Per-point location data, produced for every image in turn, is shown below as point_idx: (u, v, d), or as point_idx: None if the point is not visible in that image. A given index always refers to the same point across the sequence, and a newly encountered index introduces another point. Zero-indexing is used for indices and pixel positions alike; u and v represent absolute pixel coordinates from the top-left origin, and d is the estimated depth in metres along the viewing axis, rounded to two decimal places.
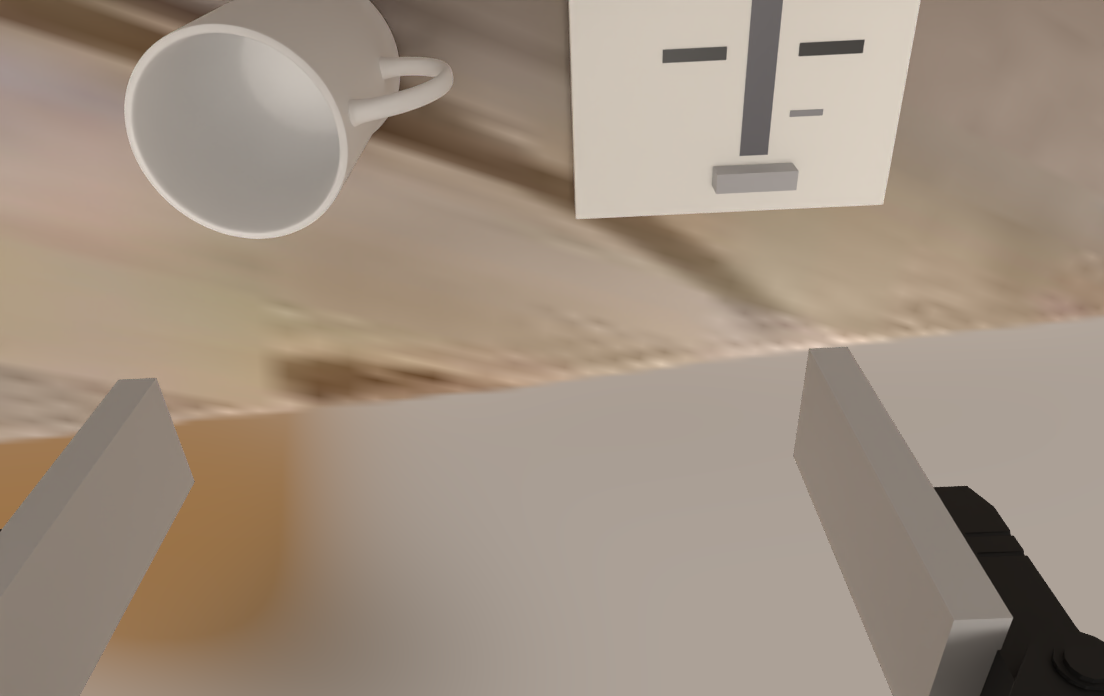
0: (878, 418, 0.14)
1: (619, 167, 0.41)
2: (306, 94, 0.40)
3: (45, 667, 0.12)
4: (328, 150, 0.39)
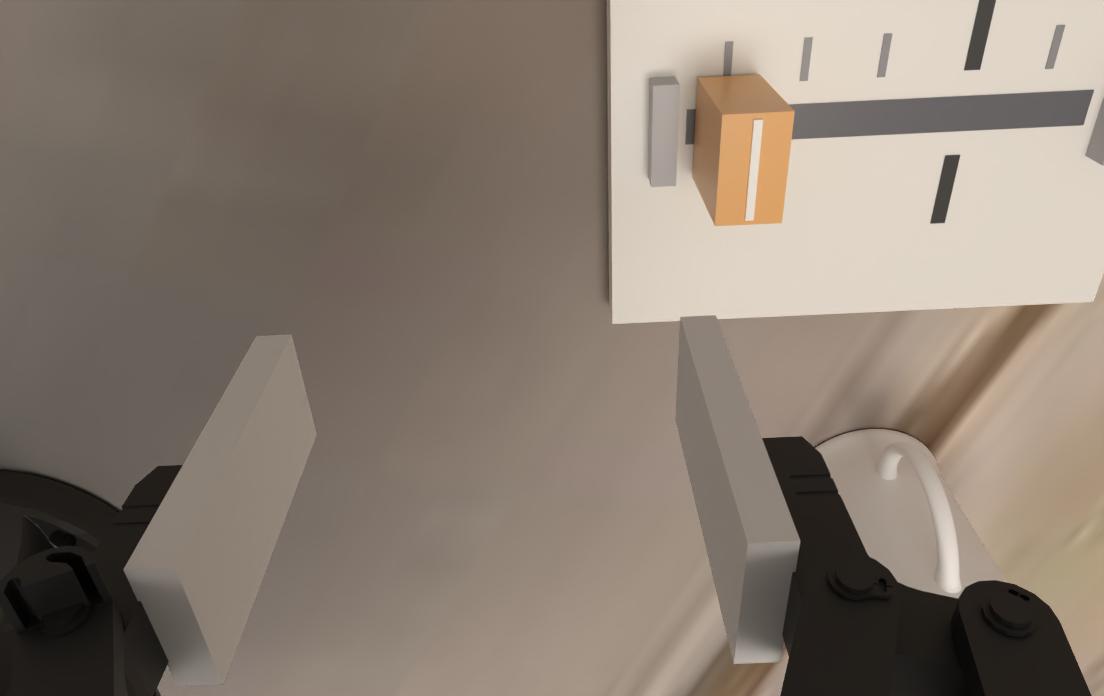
0: (727, 376, 0.15)
1: (1048, 259, 0.36)
2: None
3: (228, 585, 0.13)
4: None
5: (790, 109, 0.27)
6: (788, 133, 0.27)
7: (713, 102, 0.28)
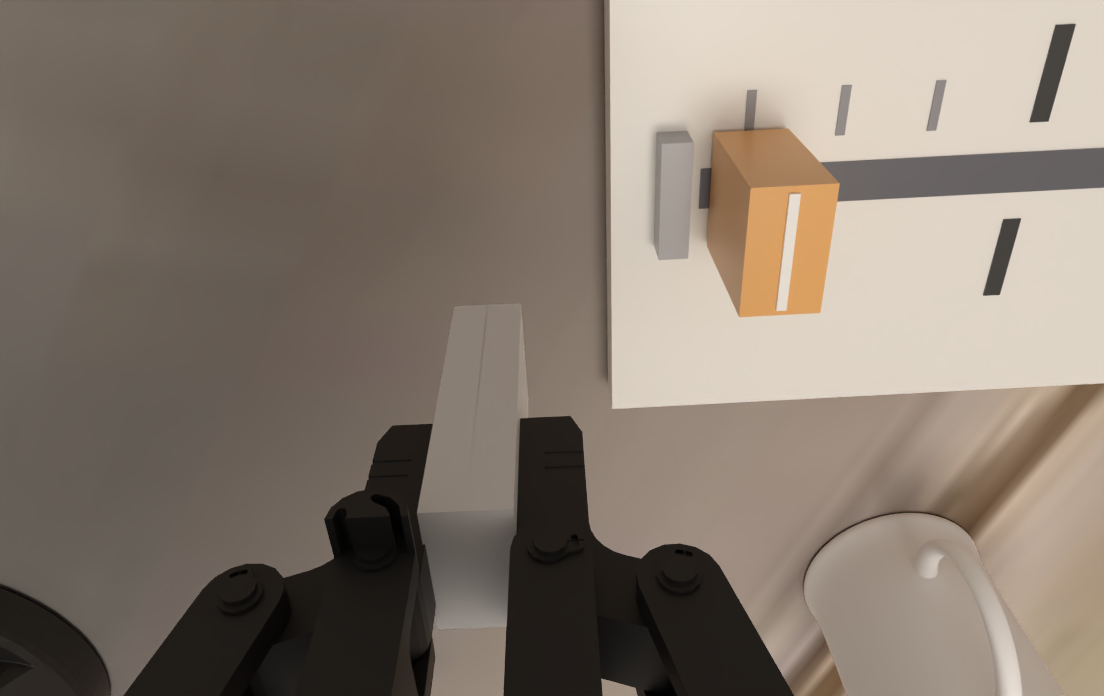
0: (507, 359, 0.16)
1: None
2: None
3: None
4: None
5: (833, 180, 0.22)
6: (831, 209, 0.22)
7: (737, 169, 0.23)
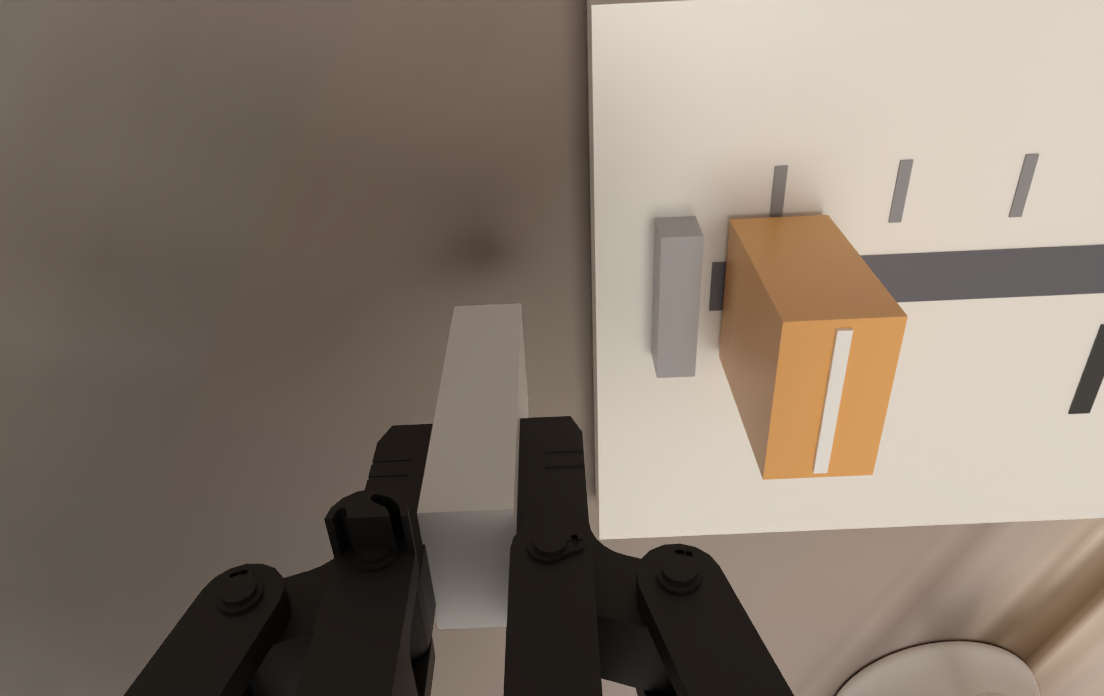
0: (507, 359, 0.16)
1: None
2: None
3: None
4: None
5: (898, 310, 0.16)
6: (893, 349, 0.16)
7: (762, 284, 0.17)
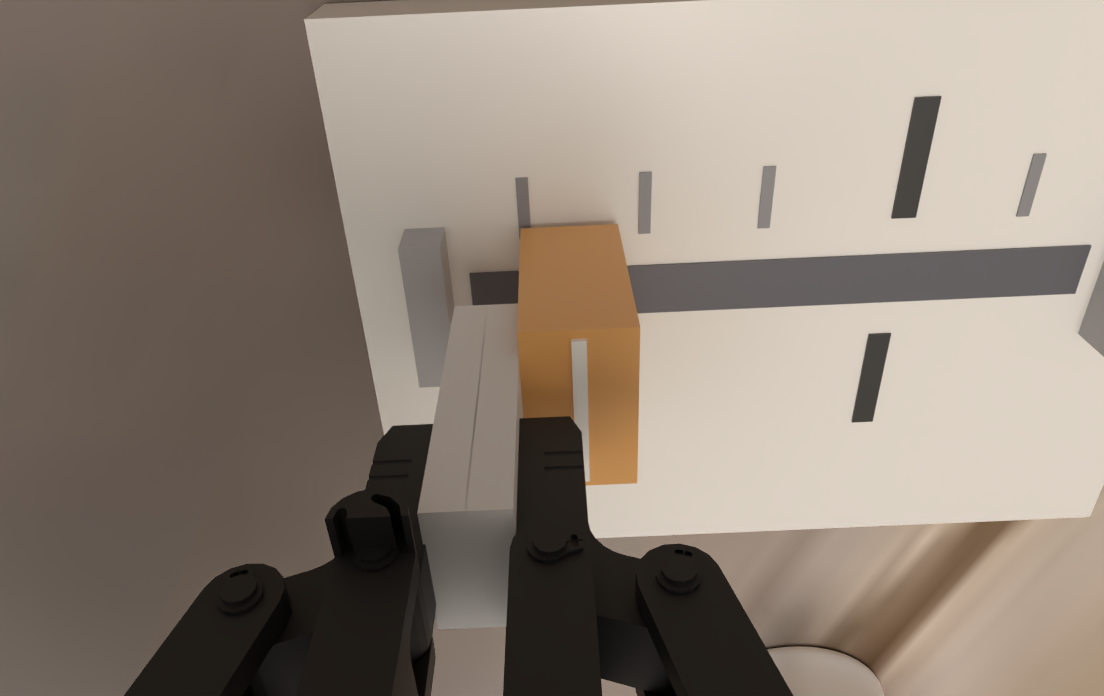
0: (507, 359, 0.16)
1: (1024, 466, 0.25)
2: None
3: None
4: None
5: (635, 321, 0.16)
6: (633, 359, 0.16)
7: (518, 294, 0.17)
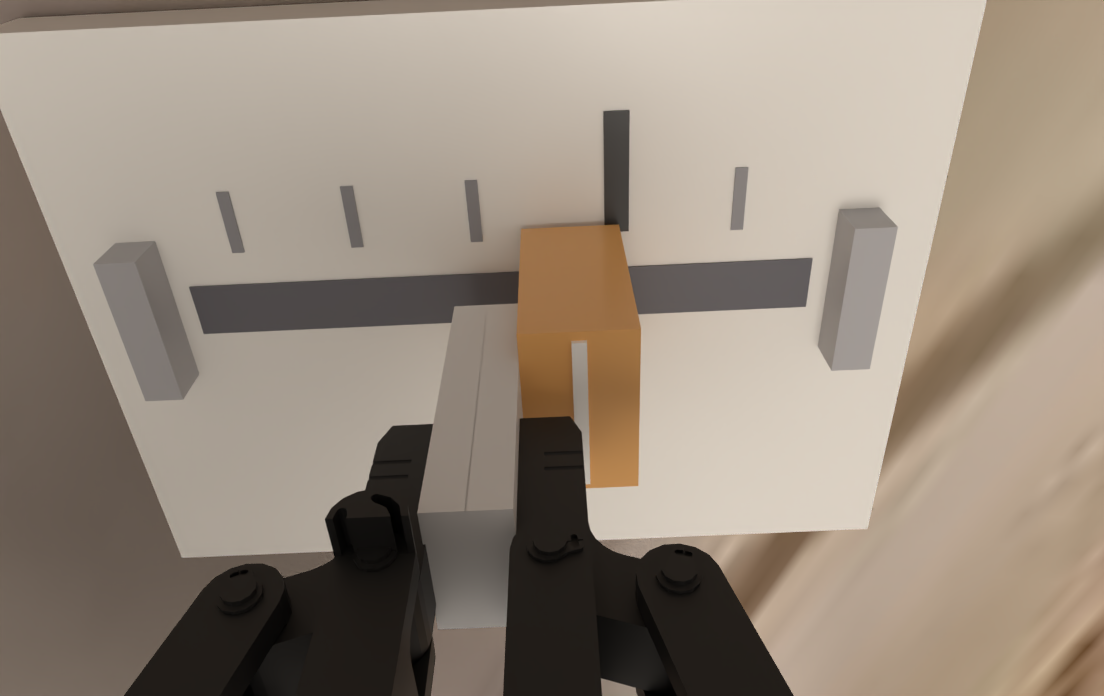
0: (507, 360, 0.16)
1: (791, 478, 0.25)
2: None
3: None
4: None
5: (635, 322, 0.16)
6: (634, 361, 0.16)
7: (518, 296, 0.17)
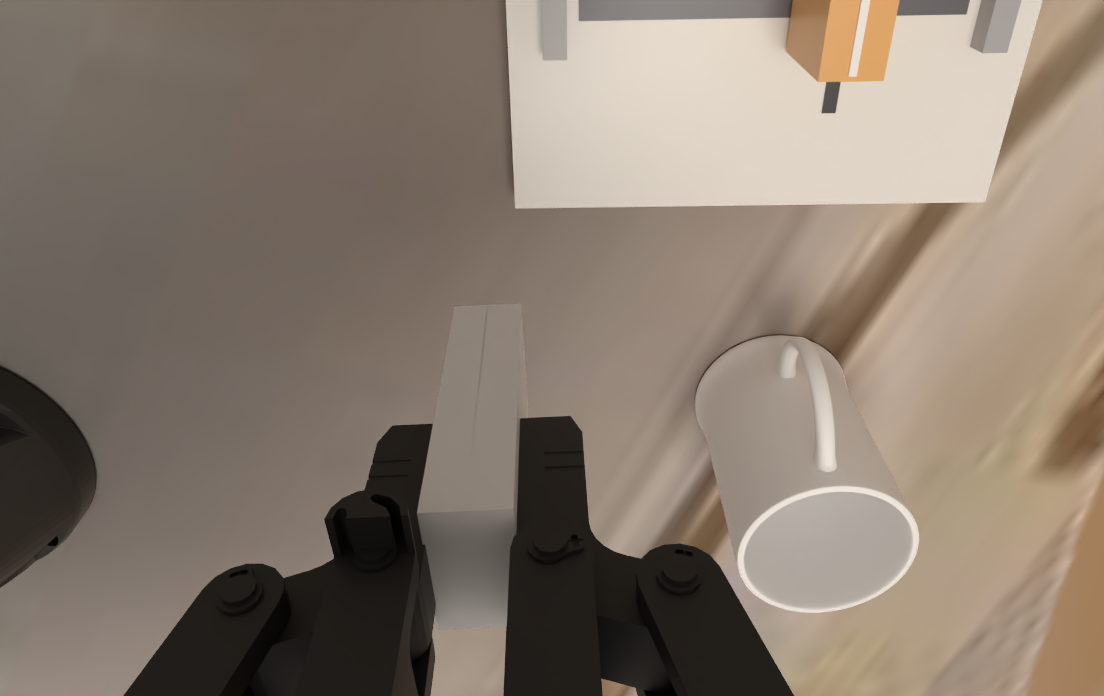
0: (507, 360, 0.16)
1: (938, 156, 0.37)
2: None
3: None
4: None
5: None
6: None
7: None
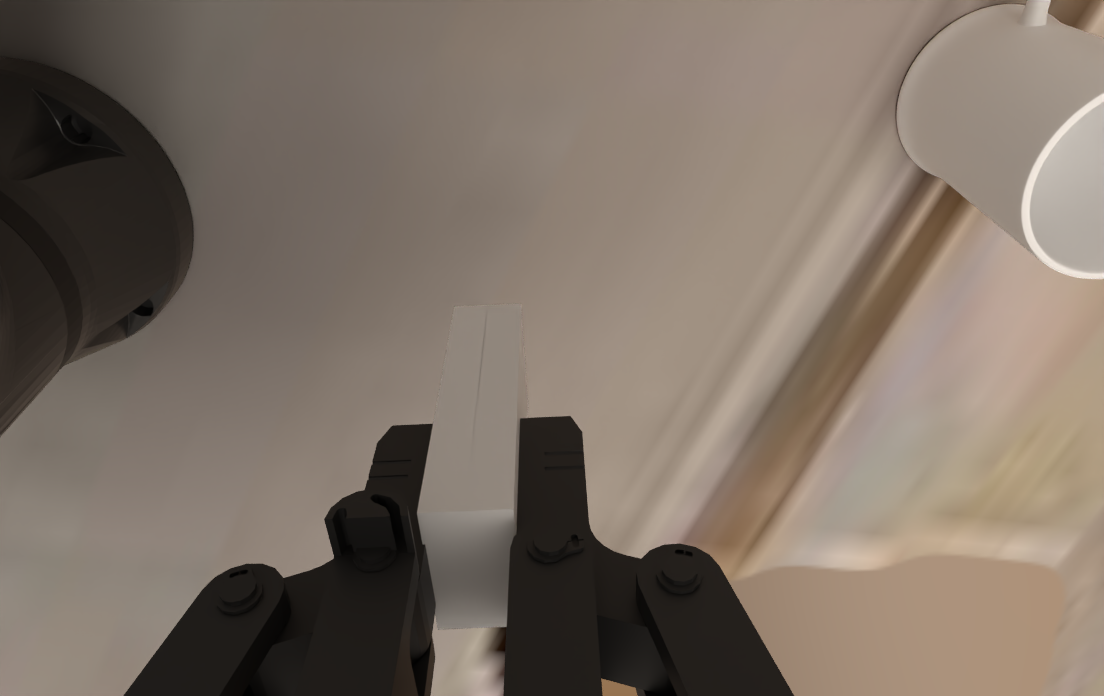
0: (508, 360, 0.16)
1: None
2: None
3: None
4: None
5: None
6: None
7: None
